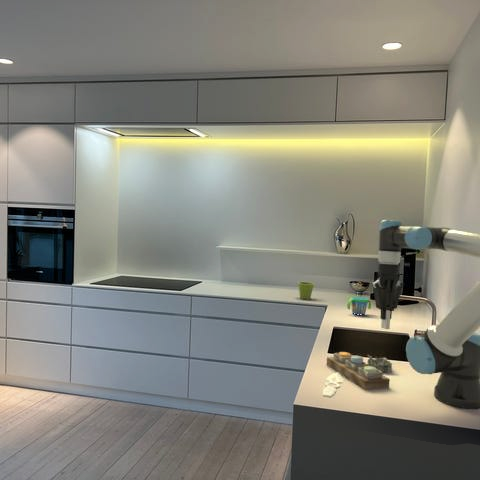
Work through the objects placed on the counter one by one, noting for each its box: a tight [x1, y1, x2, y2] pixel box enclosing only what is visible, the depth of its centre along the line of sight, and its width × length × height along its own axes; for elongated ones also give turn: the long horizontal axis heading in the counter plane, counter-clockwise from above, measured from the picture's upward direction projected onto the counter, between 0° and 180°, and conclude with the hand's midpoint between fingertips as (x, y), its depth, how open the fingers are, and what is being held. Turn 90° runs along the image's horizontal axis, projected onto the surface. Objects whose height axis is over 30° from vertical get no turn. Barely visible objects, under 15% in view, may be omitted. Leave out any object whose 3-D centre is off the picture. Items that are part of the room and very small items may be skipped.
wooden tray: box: [326, 352, 390, 390], centre depth 172 cm, size 26×10×5 cm, turn 19°
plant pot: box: [297, 281, 315, 301], centre depth 326 cm, size 12×12×11 cm
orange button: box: [338, 351, 351, 358], centre depth 180 cm, size 4×4×2 cm
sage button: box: [364, 365, 377, 373], centre depth 164 cm, size 4×4×2 cm
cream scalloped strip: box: [322, 371, 345, 398], centre depth 164 cm, size 6×28×1 cm, turn 160°
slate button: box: [351, 355, 364, 365], centre depth 172 cm, size 4×4×2 cm
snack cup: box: [346, 296, 372, 315], centre depth 282 cm, size 16×10×10 cm
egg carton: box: [367, 354, 393, 373], centre depth 182 cm, size 11×8×4 cm
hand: (385, 328), depth 167 cm, fingers closed
